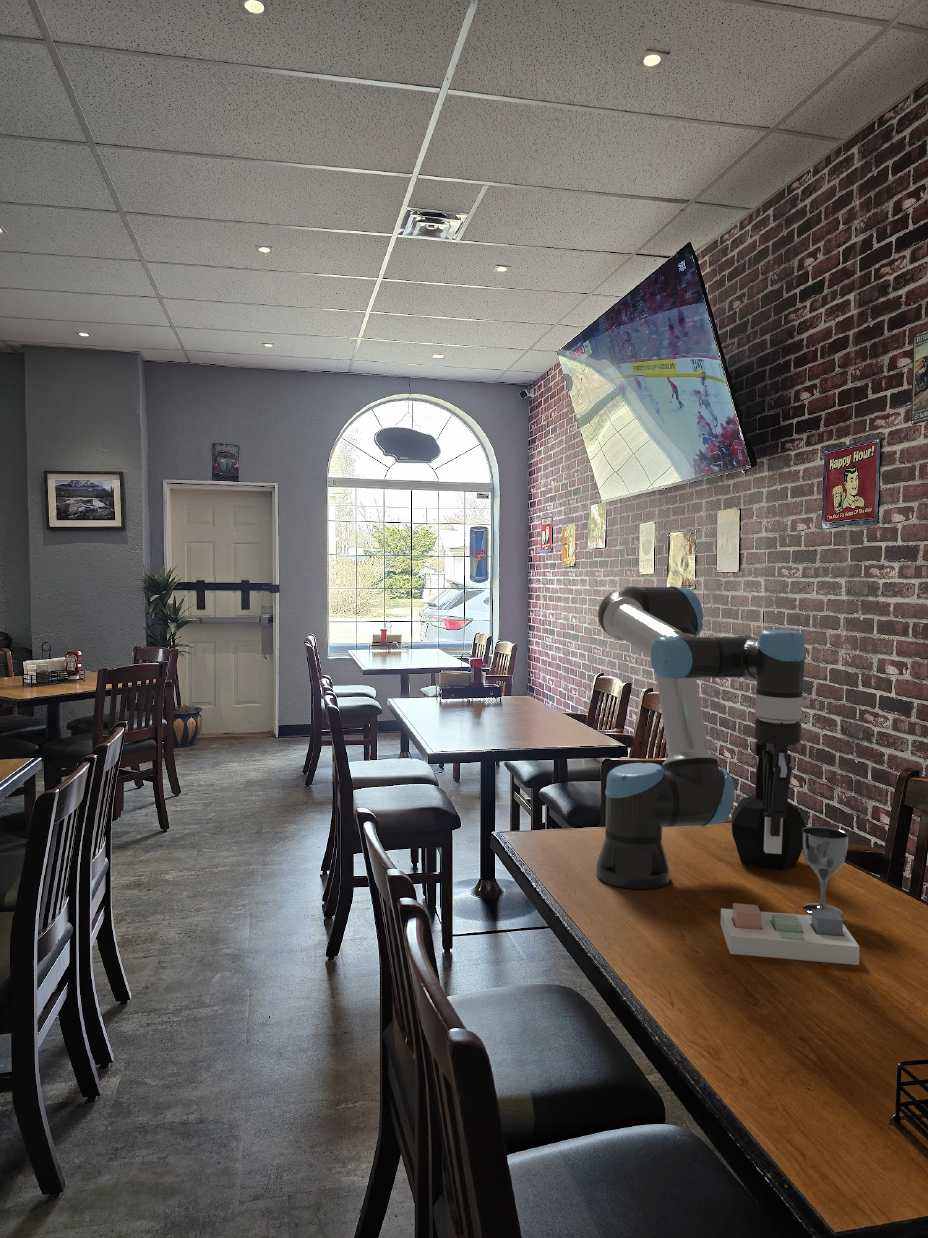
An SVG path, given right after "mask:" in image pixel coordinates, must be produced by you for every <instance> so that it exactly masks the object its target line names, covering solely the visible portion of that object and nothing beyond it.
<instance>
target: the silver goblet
mask: <svg viewBox="0 0 928 1238" xmlns="http://www.w3.org/2000/svg"><path fill="white" fill-rule="evenodd" d="M848 843H849V834H848V833H847V832H846V831H844V830H841V829H837V828H834V827H828V826H818V825H817V826H816V825H815V826H814V825H812V826H807V827H805V828H803V829H802V847H803V849H802V851H803V853H802V854H803V857H804V859H805V861H806V863H807V864H808V865H809V867H810V868H811V869H812V870H813V872H814V874H816V877H817V878H818V880H819V887H820V902H819V903H816V902H814V903H813V902H812V903H810V902H809V903H805V904H804V905H803V906H802V910H803V911H804V912H805V913H807V914H808V915H811V916H812V909H815V910H828V911H837V912H838V914H839V915H840V917H841V918H842V917H843V916H844V912H843V910H841V909H840V908H838V907H835V906H833V905H830V904H826V903H827V902H826V893H827V885H828V883H829V880H830V878H831V877H832V876H833V875H834V874H835V873H836V872H837V871H838V870H839V869H840V868H841V867H842V866H843V865H844V863H845V860H846V856H847V852H848Z"/></svg>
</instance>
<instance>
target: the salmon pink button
mask: <svg viewBox="0 0 928 1238" xmlns="http://www.w3.org/2000/svg"><path fill="white" fill-rule="evenodd" d="M732 909H733V923H734V926H735V928H746V929H758V930H761V912H762V911H760V908H759V906H758V904H750V903H749V904H748V903H746V904H745V903H736V902H735V903H732Z"/></svg>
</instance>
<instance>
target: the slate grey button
mask: <svg viewBox="0 0 928 1238" xmlns="http://www.w3.org/2000/svg"><path fill="white" fill-rule="evenodd" d="M811 916H812V923H811V927H812V929H813V930H814V932H815V934H819V935H831V936H843V924H844V920H843V918H842V917H840V915H839V914H838V912H837V911H828V910H815V909H812V915H811Z"/></svg>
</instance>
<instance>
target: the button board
mask: <svg viewBox="0 0 928 1238" xmlns="http://www.w3.org/2000/svg"><path fill="white" fill-rule="evenodd" d="M760 912H761V930H758V929H746V928H735V926H734V923H733V908H731V909H730V908H720V927H721V930H722V934H723V936H724V939H725V943H726V945H727V950H728V952H729V954H730V955H737V956H738V955H739V956H740V955H741V956H750V957H752V956H753V957H764V958H775V959H783V960H784V959H785V960H797V961H807V962H808V961H810V962H818V963H819V962H821V963H830V964H842V965H843V964H844V965H854V966H860V945H859V944H858V942H857V941H856V939H855V938H854V937H853V936H852V934H851V933H850V931H849V930H848V928H847V926H846V925H845V924H844V923H843V936H831V935H819V934H815V932H814V930H813V929H812V927H811V923H812V915H811V914H797V913H784V912H783V913H782V912H771V911H760ZM772 914H778V915H790V916H797V918H798V920H799V921H800V923H801V925H802V931H801V933H795V932H782V931H775V930H774V928H773V926H772Z"/></svg>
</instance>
